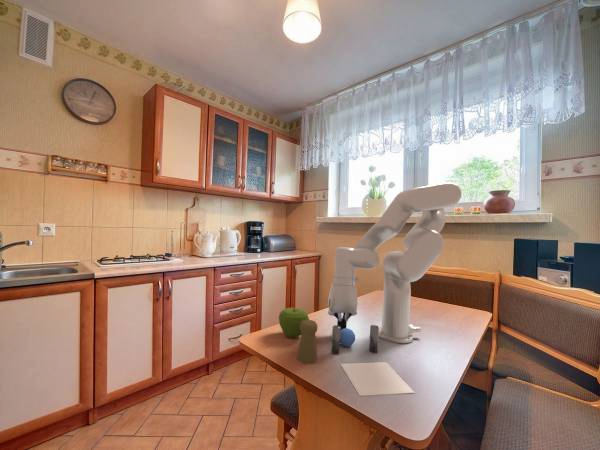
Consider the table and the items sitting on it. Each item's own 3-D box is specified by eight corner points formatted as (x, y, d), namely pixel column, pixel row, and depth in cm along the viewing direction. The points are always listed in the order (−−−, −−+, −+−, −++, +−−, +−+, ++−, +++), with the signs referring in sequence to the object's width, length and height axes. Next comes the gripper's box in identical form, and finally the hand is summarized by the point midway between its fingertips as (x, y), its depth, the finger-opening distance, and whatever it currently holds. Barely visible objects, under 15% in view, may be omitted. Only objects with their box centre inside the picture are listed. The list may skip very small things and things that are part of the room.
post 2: (375, 349, 85) (376, 325, 85) (378, 353, 82) (380, 328, 82) (367, 349, 84) (369, 325, 85) (371, 353, 82) (372, 328, 82)
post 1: (338, 350, 83) (339, 325, 83) (340, 354, 80) (341, 328, 80) (330, 350, 82) (331, 325, 82) (332, 354, 80) (333, 328, 80)
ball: (357, 343, 83) (353, 350, 86) (356, 326, 86) (352, 333, 90) (339, 341, 83) (336, 347, 87) (339, 324, 87) (336, 331, 91)
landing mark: (385, 362, 77) (385, 362, 77) (414, 393, 63) (414, 392, 63) (340, 364, 74) (340, 363, 74) (359, 396, 60) (359, 395, 60)
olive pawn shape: (296, 353, 79) (298, 317, 80) (315, 353, 80) (317, 317, 80) (297, 363, 73) (299, 324, 74) (318, 363, 74) (320, 325, 74)
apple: (314, 337, 92) (315, 309, 92) (291, 345, 85) (293, 314, 85) (293, 327, 100) (295, 301, 100) (271, 334, 93) (273, 306, 93)
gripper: (359, 279, 100) (356, 326, 100) (321, 278, 98) (319, 327, 98) (367, 283, 93) (364, 334, 93) (327, 282, 90) (324, 335, 90)
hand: (341, 330), depth 95 cm, fingers closed
